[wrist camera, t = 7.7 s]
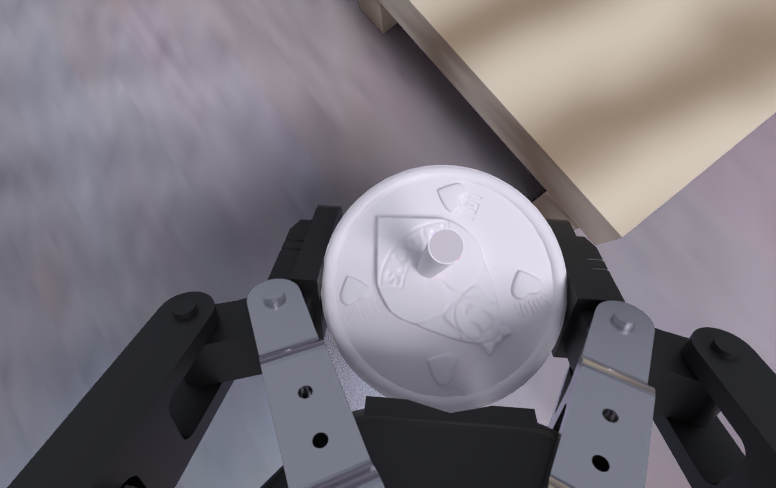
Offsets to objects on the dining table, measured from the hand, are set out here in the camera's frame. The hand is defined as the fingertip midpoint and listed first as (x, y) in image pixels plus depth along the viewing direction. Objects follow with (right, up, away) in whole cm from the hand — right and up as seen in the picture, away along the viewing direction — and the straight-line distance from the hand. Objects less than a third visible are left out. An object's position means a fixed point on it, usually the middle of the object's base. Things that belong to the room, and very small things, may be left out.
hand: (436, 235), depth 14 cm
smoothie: (0, -3, +7) cm, 7 cm away
